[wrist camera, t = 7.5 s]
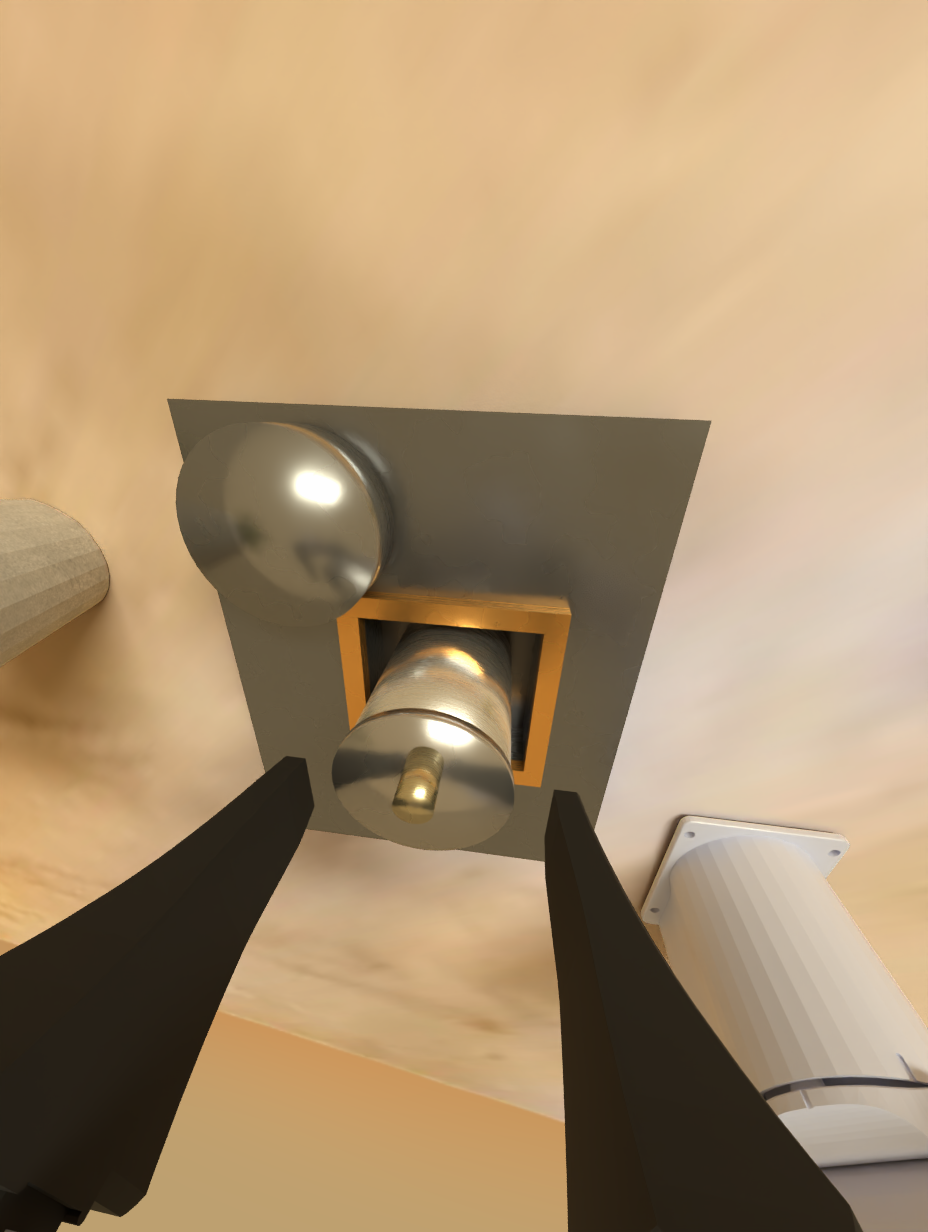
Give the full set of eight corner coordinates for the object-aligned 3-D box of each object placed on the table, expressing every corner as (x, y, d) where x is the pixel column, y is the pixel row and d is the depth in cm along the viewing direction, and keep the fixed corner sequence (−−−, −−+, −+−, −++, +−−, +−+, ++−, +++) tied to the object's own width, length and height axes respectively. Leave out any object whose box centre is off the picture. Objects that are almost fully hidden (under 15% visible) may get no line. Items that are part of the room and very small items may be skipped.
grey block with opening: (576, 823, 22) (590, 911, 18) (301, 787, 23) (257, 862, 19) (678, 421, 13) (750, 420, 9) (219, 402, 14) (106, 394, 10)
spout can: (501, 713, 18) (493, 919, 11) (394, 692, 19) (310, 881, 11) (525, 616, 16) (536, 790, 8) (401, 593, 16) (302, 744, 9)
